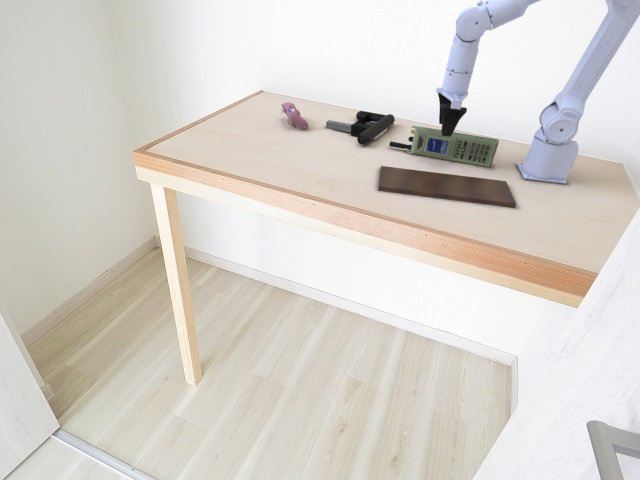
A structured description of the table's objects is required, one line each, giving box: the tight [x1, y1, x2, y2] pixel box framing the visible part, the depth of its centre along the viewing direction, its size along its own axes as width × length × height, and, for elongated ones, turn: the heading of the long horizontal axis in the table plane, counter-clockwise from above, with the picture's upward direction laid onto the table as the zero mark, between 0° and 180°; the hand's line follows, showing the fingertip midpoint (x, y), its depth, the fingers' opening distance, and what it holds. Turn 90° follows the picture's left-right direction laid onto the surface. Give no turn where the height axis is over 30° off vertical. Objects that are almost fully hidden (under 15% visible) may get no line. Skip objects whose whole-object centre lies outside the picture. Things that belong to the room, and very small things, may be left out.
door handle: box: [325, 110, 396, 145], centre depth 114 cm, size 3×20×16 cm
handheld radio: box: [388, 125, 500, 169], centre depth 102 cm, size 7×3×25 cm
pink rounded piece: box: [280, 100, 309, 130], centre depth 115 cm, size 10×5×7 cm, turn 17°
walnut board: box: [377, 165, 517, 209], centre depth 90 cm, size 28×10×1 cm, turn 81°
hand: (444, 129), depth 99 cm, fingers open, 7 cm apart
